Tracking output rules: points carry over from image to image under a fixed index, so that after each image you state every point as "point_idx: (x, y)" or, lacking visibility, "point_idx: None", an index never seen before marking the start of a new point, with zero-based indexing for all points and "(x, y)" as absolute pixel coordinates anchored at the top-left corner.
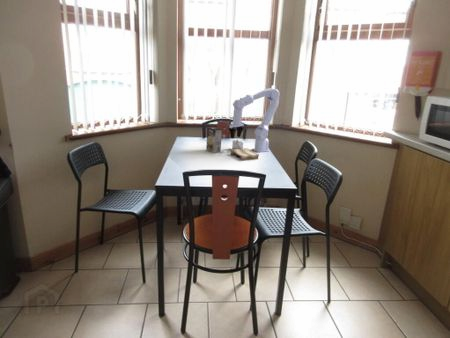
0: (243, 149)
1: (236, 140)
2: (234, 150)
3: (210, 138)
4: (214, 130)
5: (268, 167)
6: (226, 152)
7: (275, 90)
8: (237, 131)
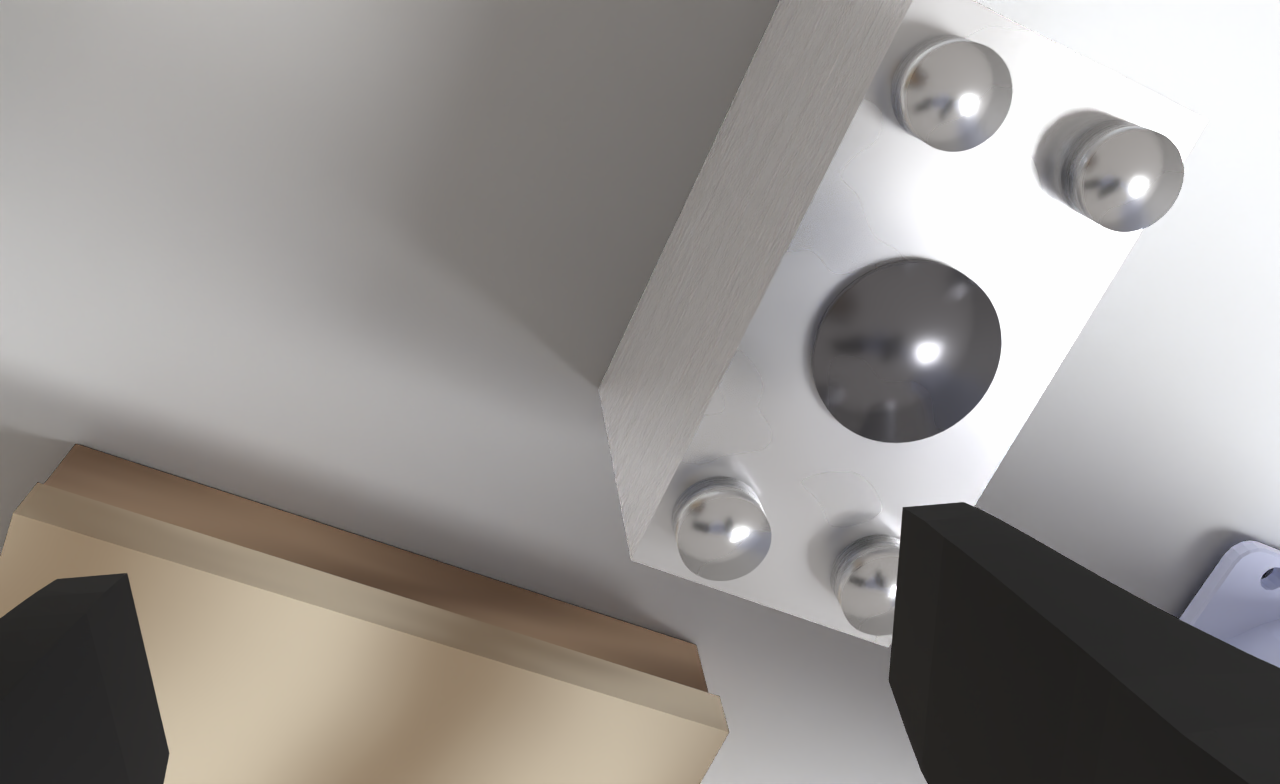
0: (509, 775)
1: (1079, 153)
2: None
3: None
4: None
5: None
6: (95, 188)
7: None
8: (1115, 736)
